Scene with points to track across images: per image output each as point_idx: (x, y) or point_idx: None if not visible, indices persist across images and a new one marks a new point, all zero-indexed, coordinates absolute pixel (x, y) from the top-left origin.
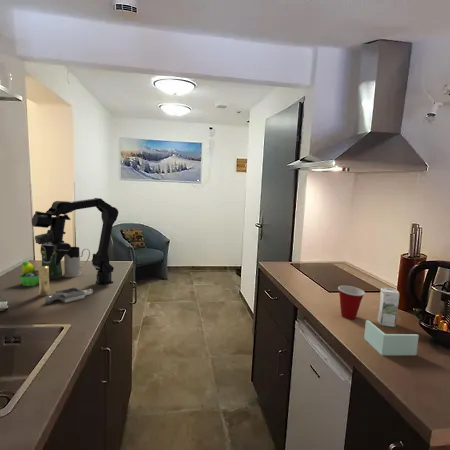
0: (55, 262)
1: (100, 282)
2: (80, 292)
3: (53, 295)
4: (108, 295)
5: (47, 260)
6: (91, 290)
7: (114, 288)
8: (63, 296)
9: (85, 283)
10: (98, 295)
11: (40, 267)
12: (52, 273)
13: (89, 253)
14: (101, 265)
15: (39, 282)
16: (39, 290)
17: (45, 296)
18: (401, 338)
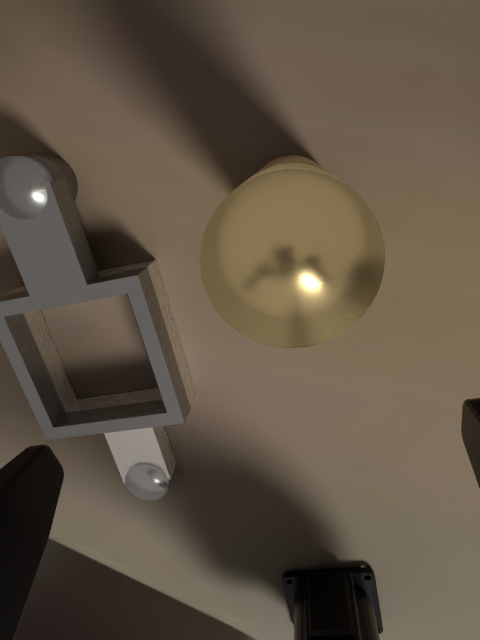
0: (11, 470)
1: (307, 583)
2: (34, 414)
3: (27, 229)
4: (64, 523)
5: (463, 412)
6: (127, 485)
7: (179, 589)
8: (19, 296)
9: (395, 515)
10: (87, 486)
11: (262, 198)
12: None
13: None
14: None
15: (280, 160)
16: (289, 156)
17: (24, 161)
18: None
